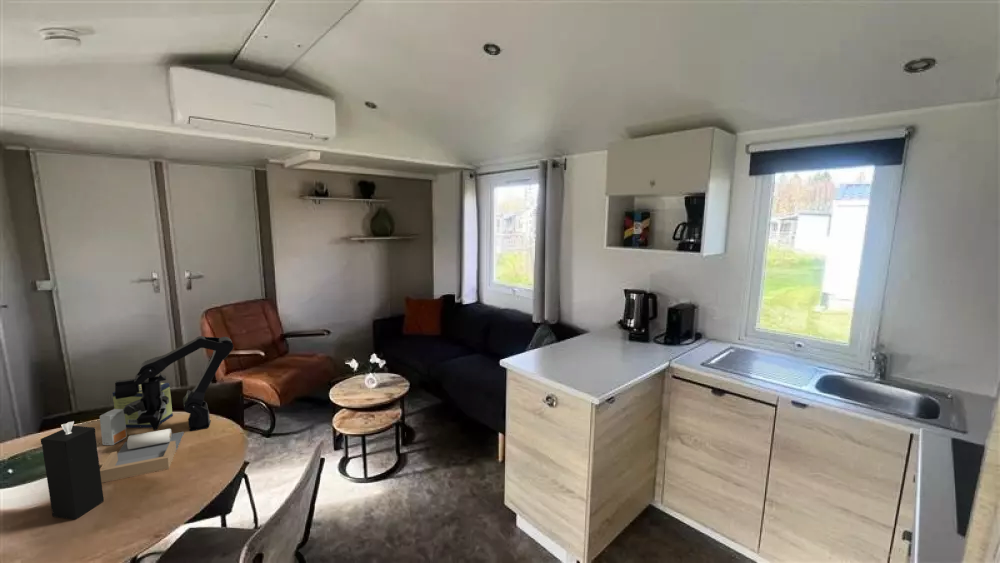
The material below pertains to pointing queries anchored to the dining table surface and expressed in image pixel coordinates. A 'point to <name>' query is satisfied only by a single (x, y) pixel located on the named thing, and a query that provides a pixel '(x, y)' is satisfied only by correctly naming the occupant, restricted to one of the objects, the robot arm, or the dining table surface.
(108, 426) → the skincare box
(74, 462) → the tissue box
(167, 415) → the protein box
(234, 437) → the dining table surface
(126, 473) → the holder
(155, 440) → the paper roll
